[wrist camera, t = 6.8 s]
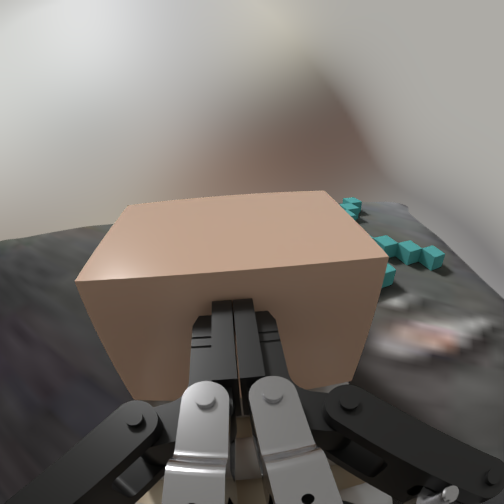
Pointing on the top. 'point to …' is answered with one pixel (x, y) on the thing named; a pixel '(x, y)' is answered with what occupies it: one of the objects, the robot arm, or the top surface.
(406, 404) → the top surface
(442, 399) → the top surface
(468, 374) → the top surface
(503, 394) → the top surface
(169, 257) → the tan cardboard box
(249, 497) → the roller track
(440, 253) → the alien figure
